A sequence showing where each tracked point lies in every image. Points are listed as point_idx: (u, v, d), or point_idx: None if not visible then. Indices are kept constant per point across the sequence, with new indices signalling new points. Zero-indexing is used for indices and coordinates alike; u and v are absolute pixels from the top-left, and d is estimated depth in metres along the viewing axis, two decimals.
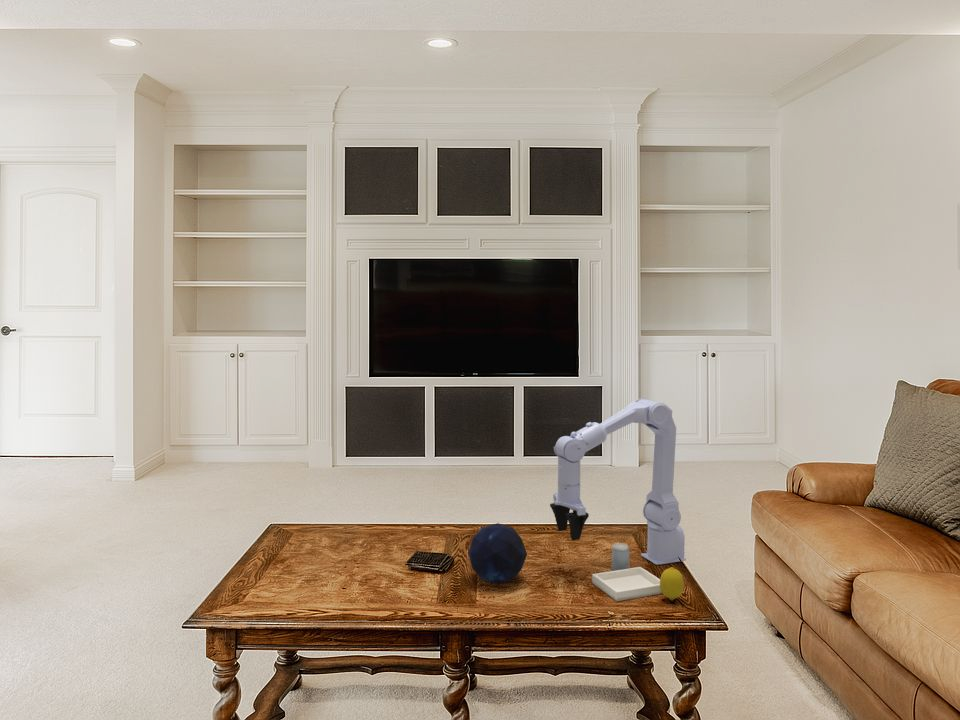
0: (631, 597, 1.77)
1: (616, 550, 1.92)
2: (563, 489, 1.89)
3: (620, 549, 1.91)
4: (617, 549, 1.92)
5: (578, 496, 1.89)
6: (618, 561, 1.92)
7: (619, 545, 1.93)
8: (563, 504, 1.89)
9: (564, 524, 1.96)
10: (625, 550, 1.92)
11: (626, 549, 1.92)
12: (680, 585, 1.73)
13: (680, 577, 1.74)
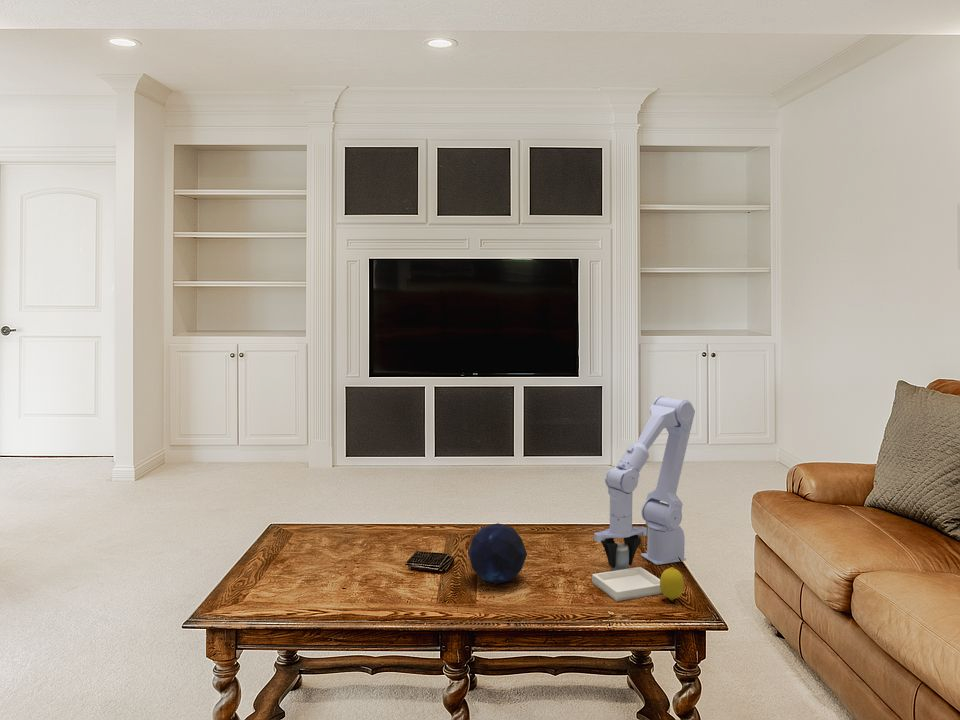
0: (631, 597, 1.77)
1: (616, 550, 1.92)
2: None
3: (620, 549, 1.91)
4: (617, 549, 1.92)
5: (615, 528, 1.90)
6: (618, 561, 1.92)
7: (619, 545, 1.93)
8: None
9: (629, 558, 1.94)
10: (625, 550, 1.92)
11: (626, 549, 1.92)
12: (680, 585, 1.73)
13: (680, 577, 1.74)
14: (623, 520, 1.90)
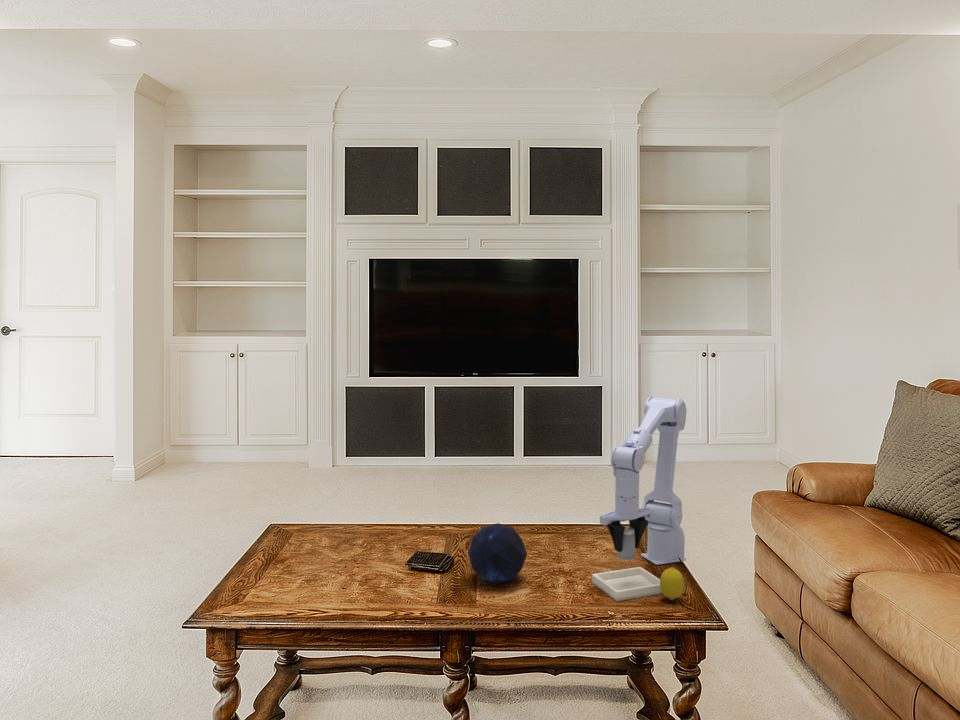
0: (631, 597, 1.77)
1: None
2: None
3: (626, 533, 1.82)
4: None
5: (622, 509, 1.80)
6: (624, 546, 1.82)
7: None
8: None
9: (635, 541, 1.84)
10: (631, 534, 1.82)
11: (632, 533, 1.82)
12: (680, 585, 1.73)
13: (680, 577, 1.74)
14: (630, 501, 1.80)
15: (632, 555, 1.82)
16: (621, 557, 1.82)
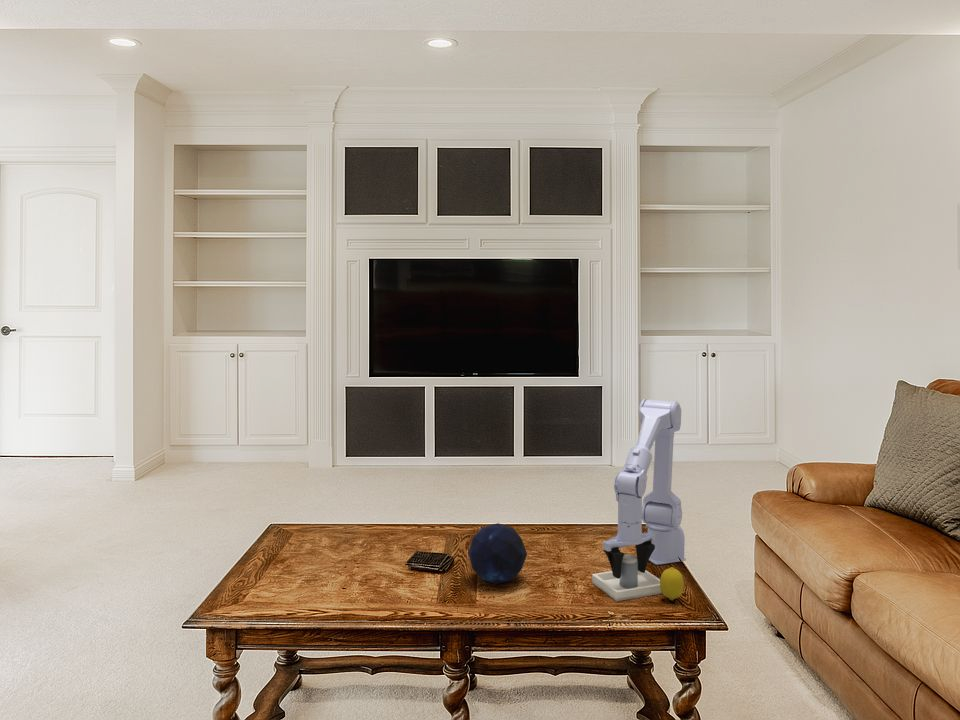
0: (631, 597, 1.77)
1: (625, 563, 1.81)
2: None
3: (629, 561, 1.81)
4: (626, 561, 1.81)
5: (625, 535, 1.80)
6: (627, 575, 1.81)
7: (627, 557, 1.83)
8: None
9: (642, 566, 1.84)
10: (634, 562, 1.81)
11: (635, 561, 1.81)
12: (680, 585, 1.73)
13: (680, 577, 1.74)
14: (634, 527, 1.79)
15: (634, 584, 1.81)
16: (624, 586, 1.82)
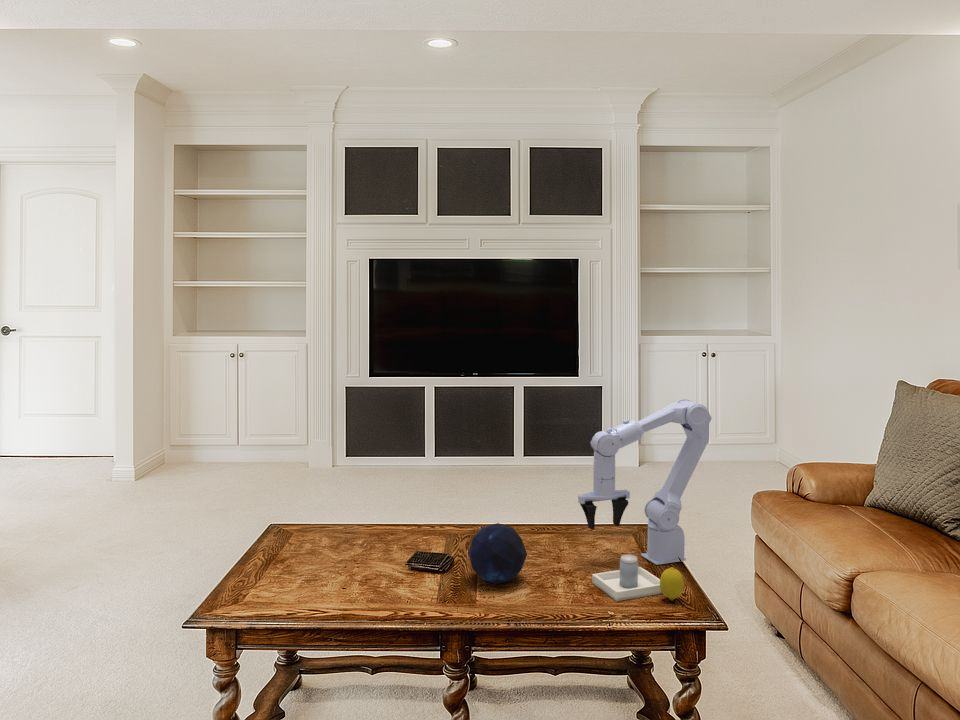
0: (631, 597, 1.77)
1: (625, 562, 1.81)
2: None
3: (629, 561, 1.81)
4: (626, 561, 1.81)
5: (599, 490, 1.96)
6: (627, 575, 1.81)
7: (628, 557, 1.83)
8: None
9: (616, 520, 2.00)
10: (634, 562, 1.81)
11: (635, 561, 1.81)
12: (680, 585, 1.73)
13: (680, 577, 1.74)
14: (606, 482, 1.95)
15: (634, 584, 1.81)
16: (624, 586, 1.82)
